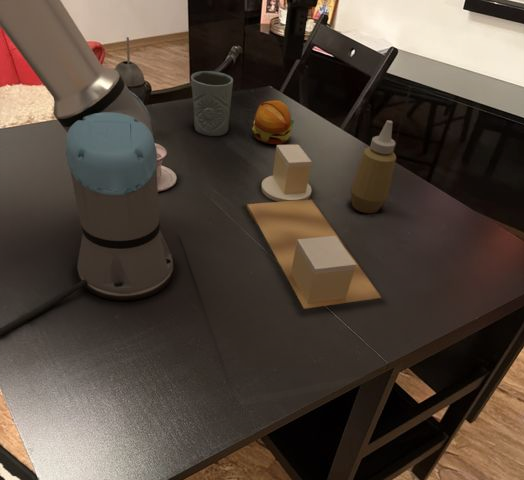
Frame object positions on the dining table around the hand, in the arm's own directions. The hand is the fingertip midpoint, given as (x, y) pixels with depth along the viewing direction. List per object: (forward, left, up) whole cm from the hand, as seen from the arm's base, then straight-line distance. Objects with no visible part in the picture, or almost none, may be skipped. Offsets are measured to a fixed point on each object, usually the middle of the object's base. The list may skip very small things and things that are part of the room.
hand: (291, 57), depth 73 cm
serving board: (-1, -10, -29) cm, 31 cm away
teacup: (-8, +28, -30) cm, 42 cm away
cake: (-8, -19, -28) cm, 35 cm away
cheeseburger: (+30, +27, -30) cm, 50 cm away
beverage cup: (+3, +48, -30) cm, 57 cm away
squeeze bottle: (+22, -8, -30) cm, 38 cm away
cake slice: (+14, +7, -28) cm, 33 cm away
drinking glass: (+21, +40, -30) cm, 54 cm away
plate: (+13, +7, -29) cm, 33 cm away
